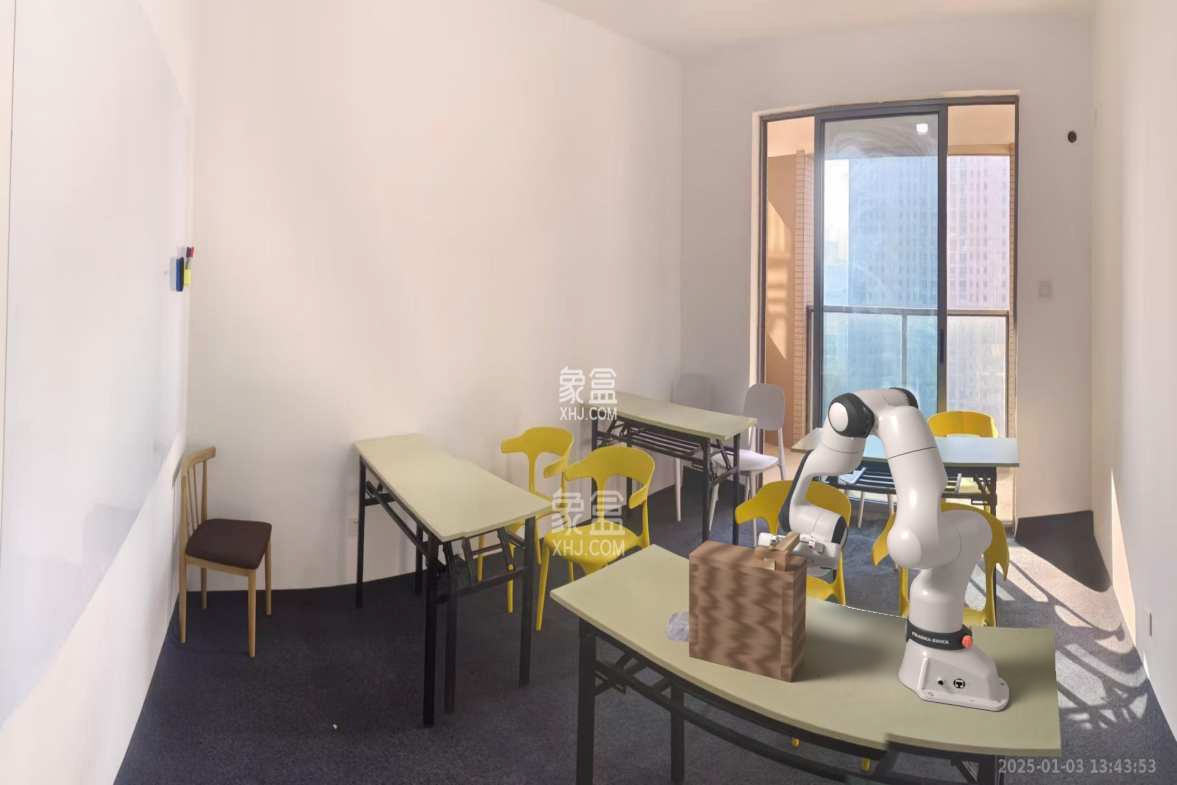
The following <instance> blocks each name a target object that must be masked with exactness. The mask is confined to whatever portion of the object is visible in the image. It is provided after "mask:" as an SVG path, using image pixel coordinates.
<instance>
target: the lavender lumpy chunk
mask: <svg viewBox="0 0 1177 785" xmlns="http://www.w3.org/2000/svg"><path fill="white" fill-rule="evenodd" d="M665 627H666V634H667V637H668V638H669V640H670V641H675V642H683V643H686V642H687V643H689V610H683V611H677V612H674V613H672V614H671V615H670V617H669V618H668V620H667V622H666V626H665Z"/></svg>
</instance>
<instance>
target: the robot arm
mask: <svg viewBox="0 0 1177 785" xmlns="http://www.w3.org/2000/svg"><path fill="white" fill-rule="evenodd" d="M869 436H875V437H877V438H878V439H879V441H881V443H882V446H883V449H884V454H885V457H886V460H887V463H888V466H889V470H890V474H891V477H892V481H893V484H894V489H895V494H896V514H895V518H894V522H893V524H892V527H891V528H890V530H889V532H888V533H887V536H886V548H887V551H888V554H889V556H890V558H891V559H892V560H893V562H894V563H895V564H896V565H897V566H899V567H900V568H902V569H905V570H918V571H919V570H921V571H920V572H919V573H918V574H917V576H915V577H914V579H913V580H912V582H911V585H910V588H909V601H908V615H907V617H906V619H905V628H904V629H905V630H904V633H905V634H904V637H905V643H906V644H905V649H904V653H903V659H902V662H901V665H900V667H899V670H898V672H897V676H898V678H899V680H900V682H901V683H902V684H904V685H905V686H906V687H907V688H909V689H911V690H912V691H913V692H915V693H916V694H917V695H918V696H919V697H920V698H921V699H922V700H925V701H929V702H934V703H941V704H942V703H943V704H947V705H948V704H949V705H953V706H961V707H967V708H973V709H974V708H975V709H980V710H985V711H986V710H987V711H993V712H998V711H1001V710H1003V709H1004V708H1006V707H1007V705H1008V704H1009V702H1010V700H1009V699H1010V689H1009V685H1008V684H1007V682H1006V681H1005V680H1004V679H1003V678H1002V677H1000V676H999V673H998V669H997V666H996V662H994V660H993V658H991V657H990V656H989V655H988V654H986V653H985V652H984V651H983V650H982V649H981V648H979V647H978V646H977V645H976V644H974V639H973V629H972V626H971V625H969V627H967V626H966V625H965V624H964V623H963V622H964V611H965V599H966V593H967V590H968V589H967V588H968V587H969V583H970V581H971V578H972V575H973V572H974V571H975V569H976V566H977V563H978V562H979V561H980V558H981V557H982V556H983V554H984V553H985V552H986V551H987V550H988V548H989V547H990V546H991V544H992V540H993V531H992V527H991V525H990V523H989V521H988V519H986V518H985V516H983V515H982V514H981V513H979V512H977V511H974V510H967V509H952V510H946V511H943V512H942V506H941V502H942V501H941V500H942V495H943V492H944V491H945V490H946V488H947V486H948V483H949V477H948V474H947V472H946V469H945V465H944V462H943V459H942V455H941V453H940V449H939V447H938V444H937V441H936V439H935V436H934V434H933V431H932V429H931V427H930V425H929V423H928V421H927V419H926V417H925V416H924V414H923V412H922V411H921V410H920V408H919V404H918V400H917V398H916V397H915V395H914V393H913V392H912V391H910V390H908V389H906V388H902V387H896V386H895V387H894V386H892V387H889V388H866V389H861V390H857V391H854V392H846V393H841V394H840V395H838V396H836V397H834V398H833V399H832V400H831V402H829V405H828V411H827V414H826V417H825V420H824V423H823V426H822V430H821V433H820V438H819V442H818V444H817V445H816V447H815V448H812V449H809V450H807V452H806V453H805V454H804V456H803V457H802V459H801V460H800V463H799V465H798V467H797V470H796V472H795V475H794V477H793V480H792V482H791V484H790V488H789V490H788V493H787V495H786V497H785V499H784V501H783V503H782V506H781V507H780V509H779V512H778V516H777V521H778V524H779V526H780V528H781V530H782V532H784V533H785V534H786V533H787V534H788V533H789V532H796V533H800V543H799V544H798V545H797V546H796V547H795V548H794V549H793V550H792V552H791V553H790V554H789V555H795V556H801V557H807V576H811V577H815V578H816V577H818V578H819V577H823V576H825V575H827V574H828V573H829V572H830V571H831V570H832V571H833V570H837V569H839V568H838V567H839V564H840V559H841V554H842V551H843V549H844V548H845V546H846V544H847V540H848V537H849V526H848V523H847V521H846V518H845V517H844V515H841V514H839V513H836V512H835V511H832V510H829V509H826V508H823V507H820V506H819V505H817V504H813V503H811V502H809V501H808V500H807V498H806V496H807V493H808V491H809V488H810V486H811V483H812V481H813V478H814V477H815V478H816V477H840V476H845V475H848V474H850V473H852V472H854V471H855V470H856V469H857V468H858V467H859V466H860V465H861V462H862V459H863V457H864V453H865V449H866V444H867V438H868V437H869ZM785 536H786V535H781V534H776V533H775V534H774V533H768V532H760V533H759V535H758V540H757V541H758V542H757V545H758V546H761V547H767V548H768V546H769V545H774V546H775V547H776V546H777V545H778V544H779V543H780V542H781V541H782V540H783V539H784V538H785ZM758 546H757V547H758Z"/></svg>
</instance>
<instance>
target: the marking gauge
mask: <svg viewBox="0 0 1177 785" xmlns="http://www.w3.org/2000/svg"><path fill="white" fill-rule="evenodd" d="M784 536H785V538H784V539H783V540H782V541H781V542H780V543H779V544H778V545H777V546H776V547H775V546H774V545H769V546H768V548H767V547H761V546H757V547H755V566H756V567H761V568H764V569H769V570H777V571H783V572H785V571H786V570H787V569H788V555H789V554H790V553H791V552H792V550H793V549H794V548H795V547H796V546H797V545H798V544H799V543H800V533H796V532H789V533H787V534H786V535H784Z"/></svg>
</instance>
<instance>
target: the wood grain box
mask: <svg viewBox="0 0 1177 785" xmlns="http://www.w3.org/2000/svg"><path fill="white" fill-rule="evenodd" d="M755 549H756V547H748V546H742V545H736V544H731V543H726V542H718V541H714V540H705V541H704V542H703V543H701V545H699V546H698V547H696V548H695V549H694V550H693V551H692V552H691V553H689V554H688V593H689V594H688V611H689V642H688V656H689V658H695V659H698V660H702V661H706V662H708V663H713V664H717V665H721V666H726V667H729V668H733V669H737V670H741V671H744V672H748V673H752V674H756V675H760V676H763V677H768V678H772V679H774V680H778V681H783V682H787V683H792V682H793V680H794V679H795V677H796V676H797V674H798V672H799V670H800V669H801V667H802V666H803V664H804V663H805V659H806V658H805V654H806V653H805V652H806V651H805V650H806V647H805V646H806V616H807V615H806V610H807V576H808V574H807V557H801V556H795V555H788V569H787V570H786V571H785V572H783V571H777V570H769V569H764V568H761V567H756V566H755Z"/></svg>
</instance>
